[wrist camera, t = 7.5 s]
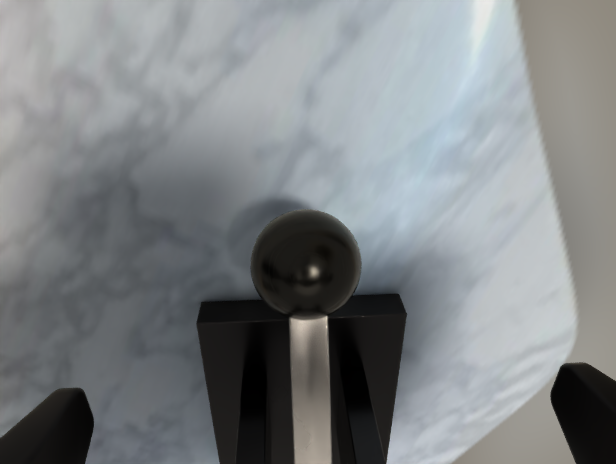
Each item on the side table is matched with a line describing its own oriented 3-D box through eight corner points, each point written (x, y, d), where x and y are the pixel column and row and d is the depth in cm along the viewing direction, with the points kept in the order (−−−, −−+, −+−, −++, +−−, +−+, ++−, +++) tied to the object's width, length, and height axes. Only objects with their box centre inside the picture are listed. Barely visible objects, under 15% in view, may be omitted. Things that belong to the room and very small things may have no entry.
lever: (252, 210, 14) (243, 211, 11) (350, 207, 14) (370, 207, 11) (267, 595, 15) (262, 700, 12) (361, 588, 15) (381, 689, 12)
